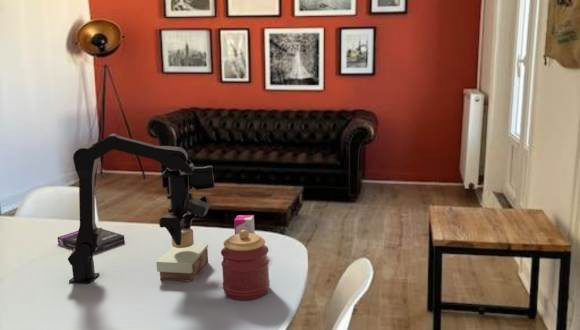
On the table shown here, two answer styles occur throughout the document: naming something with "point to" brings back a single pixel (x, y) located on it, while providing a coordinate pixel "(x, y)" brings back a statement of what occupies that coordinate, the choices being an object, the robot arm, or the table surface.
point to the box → (107, 242)
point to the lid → (180, 259)
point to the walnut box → (196, 267)
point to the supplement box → (244, 223)
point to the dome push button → (185, 239)
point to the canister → (245, 266)
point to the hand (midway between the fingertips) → (182, 240)
